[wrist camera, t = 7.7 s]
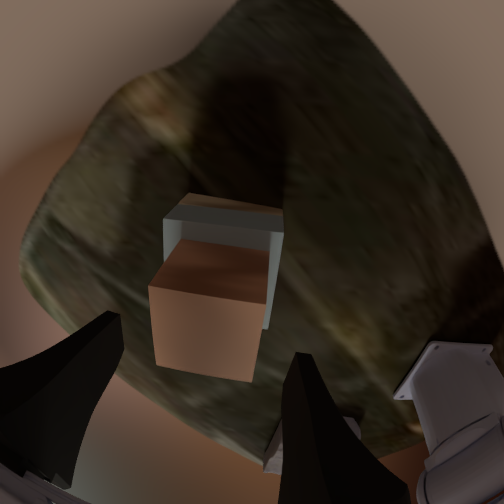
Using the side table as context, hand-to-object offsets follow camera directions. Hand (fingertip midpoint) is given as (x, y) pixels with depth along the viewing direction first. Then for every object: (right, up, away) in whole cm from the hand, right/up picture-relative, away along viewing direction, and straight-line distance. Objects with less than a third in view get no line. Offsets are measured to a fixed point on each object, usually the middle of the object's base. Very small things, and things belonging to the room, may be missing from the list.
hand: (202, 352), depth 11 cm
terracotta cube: (0, +2, +5) cm, 5 cm away
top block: (0, +4, +7) cm, 8 cm away
